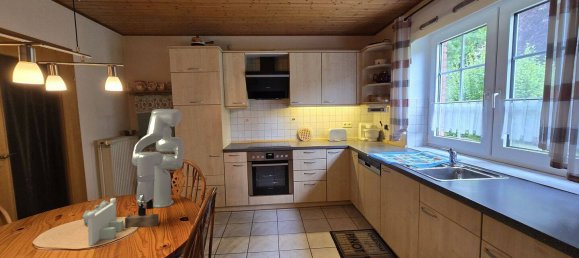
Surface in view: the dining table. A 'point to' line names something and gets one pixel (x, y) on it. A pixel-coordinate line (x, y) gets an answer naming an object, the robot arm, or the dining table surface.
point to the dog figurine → (101, 206)
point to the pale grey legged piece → (103, 223)
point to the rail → (142, 220)
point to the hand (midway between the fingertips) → (146, 212)
